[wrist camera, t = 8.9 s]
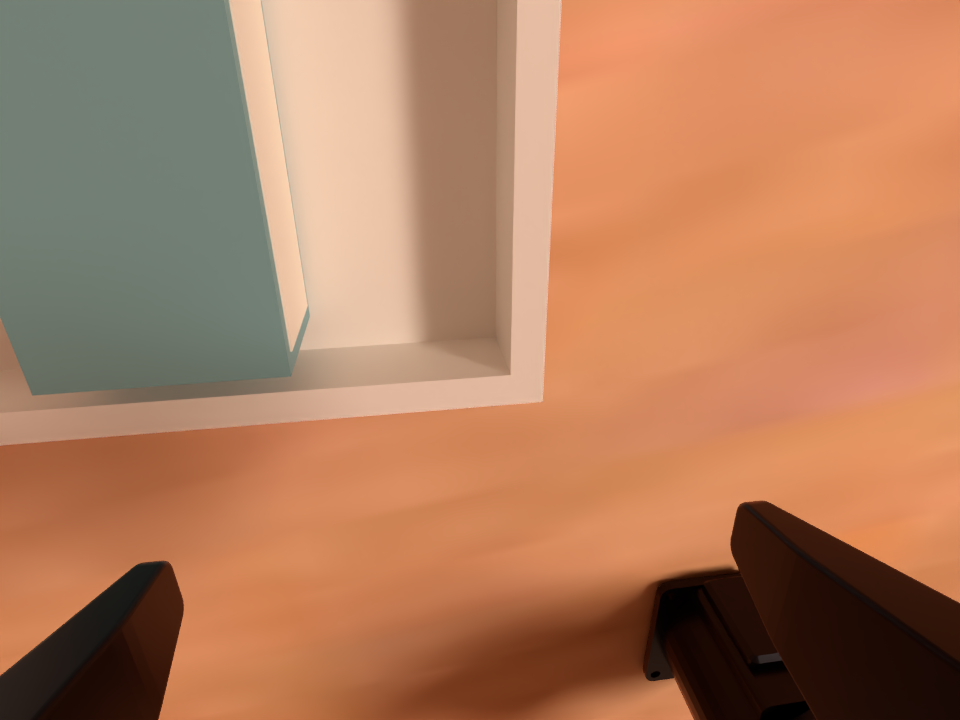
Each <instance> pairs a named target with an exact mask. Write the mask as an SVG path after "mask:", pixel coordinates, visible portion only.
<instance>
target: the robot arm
mask: <svg viewBox="0 0 960 720" xmlns="http://www.w3.org/2000/svg"><path fill="white" fill-rule="evenodd" d="M731 551H732V555H733V557H734V560H735V562H736V564H737V566H738V568H739V571H740V573H737V574H728V575H720V576H712V577H704V578H696V579H688V580H679V581H671V582H666V583H663V584H662V585H660V586H659V587H658V589H657V593H656V598H655V604H654V610H653V615H652V621H651V626H650V632H649V637H648V643H647V649H646V654H645V660H644V665H643V672H644V674H645V676H646V678H647V679H648V680H650V681H657V680H663V679H670V678H675V680H676V682H677V684H678V687H679V689H680V691H681V693H682V695H683V697H684V699H685V701H686V704H687V706H688V708H689V710H690V712H691V714H692V716H693V718H694V720H960V603H959V602H957V601H955V600H953V599H951V598H949V597H947V596H945V595H943V594H942V593H940V592H938V591H936V590H934V589H932V588H930V587H928V586H926V585H925V584H923V583H921V582H919V581H917V580H915V579H913V578H911V577H909V576H907V575H906V574H904V573H902V572H900V571H898V570H896V569H894V568H892V567H890V566H888V565H887V564H885V563H883V562H881V561H879V560H877V559H875V558H873V557H871V556H870V555H868V554H866V553H864V552H862V551H860V550H858V549H856V548H854V547H852V546H851V545H849V544H847V543H845V542H843V541H841V540H839V539H837V538H835V537H834V536H832V535H830V534H828V533H826V532H824V531H822V530H820V529H818V528H816V527H815V526H813V525H811V524H809V523H807V522H805V521H803V520H801V519H799V518H798V517H796V516H794V515H792V514H790V513H788V512H786V511H784V510H782V509H780V508H779V507H777V506H775V505H773V504H771V503H769V502H767V501H753V502H744V503H742V504H740V505H739V507H738V509H737V512H736V517H735V522H734V526H733V531H732V536H731ZM183 611H184V604H183V598H182V595H181V592H180V589H179V586H178V583H177V580H176V577H175V574H174V571H173V568H172V566H171V564H170V563H169V562H167V561H155V562H145V563H140V564H138V565H136V566H135V567H133V568H132V569H131V570H129V571H128V572H127V573H126V574H124V575H123V576H122V577H121V578H120V579H118V580H117V581H116V582H115V583H113V584H112V585H111V586H110V587H109V588H107V589H106V590H105V591H104V592H102V593H101V594H100V595H99V596H98V597H96V598H95V599H94V600H93V601H91V602H90V603H89V604H88V605H87V606H85V607H84V608H83V609H82V610H80V611H79V612H78V613H77V614H75V615H74V616H73V617H72V618H71V619H69V620H68V621H67V622H66V623H64V624H63V625H62V626H61V627H60V628H58V629H57V630H56V631H55V632H53V633H52V634H51V635H50V636H49V637H47V638H46V639H45V640H44V641H42V642H41V643H40V644H39V645H38V646H36V647H35V648H34V649H33V650H31V651H30V652H29V653H28V654H26V655H25V656H24V657H23V658H22V659H20V660H19V661H18V662H17V663H15V664H14V665H13V666H12V667H11V668H9V669H8V670H7V671H6V672H4V673H3V674H2V675H1V676H0V720H158V719H159V715H160V711H161V707H162V703H163V699H164V695H165V691H166V686H167V682H168V678H169V674H170V669H171V665H172V661H173V656H174V652H175V648H176V644H177V639H178V635H179V631H180V627H181V622H182V618H183Z"/></svg>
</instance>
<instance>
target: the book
mask: <svg viewBox="0 0 960 720" xmlns="http://www.w3.org/2000/svg"><path fill="white" fill-rule="evenodd" d="M0 318H1V321H2V323H3V326H4V328H5V331H6V333H7V335H8V338H9V340H10V343H11V345H12V348H13V350H14V352H15V355H16V357H17V360H18V362H19V364H20V367H21V369H22V372H23V374H24V377H25V379H26V381H27V384H28V386H29V389H30V391H31V394H32V396H34V395H48V394H61V393H75V392H88V391H102V390H115V389H129V388H142V387H156V386H170V385H183V384H197V383H210V382H224V381H237V380H251V379H264V378H278V377H291V375H292V372H293V369H294V366H295V362H296V359H297V356H298V353H299V350H300V347H301V343H302V340H303V337H304V334H305V331H306V327H307V324H308V321H309V318H310V313H309V307H308V300H307V294H306V287H305V281H304V274H303V268H302V261H301V255H300V248H299V242H298V235H297V229H296V222H295V216H294V209H293V203H292V196H291V190H290V183H289V176H288V170H287V163H286V157H285V150H284V144H283V137H282V131H281V124H280V118H279V111H278V105H277V98H276V92H275V85H274V79H273V72H272V66H271V59H270V53H269V46H268V40H267V33H266V27H265V20H264V14H263V7H262V1H261V0H0Z"/></svg>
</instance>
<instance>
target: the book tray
mask: <svg viewBox="0 0 960 720" xmlns="http://www.w3.org/2000/svg"><path fill="white" fill-rule="evenodd" d="M261 1H262V7H263V14H264V20H265V27H266V33H267V40H268V46H269V53H270V59H271V66H272V72H273V79H274V85H275V92H276V98H277V105H278V111H279V118H280V124H281V131H282V137H283V144H284V150H285V157H286V163H287V170H288V176H289V183H290V190H291V196H292V203H293V209H294V216H295V222H296V229H297V235H298V242H299V248H300V255H301V261H302V268H303V274H304V281H305V287H306V294H307V300H308V307H309V313H310V318H309V321H308V324H307V327H306V331H305V334H304V337H303V340H302V343H301V347H300V350H299V353H298V356H297V359H296V362H295V366H294V369H293V372H292V375H291V377H278V378H264V379H251V380H237V381H224V382H210V383H197V384H183V385H170V386H156V387H142V388H129V389H115V390H102V391H88V392H75V393H61V394H48V395H34V396H32V394H31V391H30V389H29V386H28V384H27V381H26V379H25V377H24V374H23V372H22V369H21V367H20V364H19V362H18V360H17V357H16V355H15V352H14V350H13V348H12V345H11V343H10V340H9V338H8V335H7V333H6V331H5V328H4V326H3V323H2V321H1V318H0V446H1V445H14V444H26V443H39V442H51V441H63V440H76V439H88V438H101V437H113V436H126V435H138V434H150V433H163V432H175V431H188V430H200V429H213V428H225V427H237V426H250V425H262V424H275V423H287V422H300V421H312V420H324V419H337V418H349V417H362V416H374V415H386V414H399V413H411V412H424V411H436V410H449V409H461V408H473V407H486V406H498V405H511V404H523V403H536V402H543V386H544V364H545V343H546V322H547V301H548V279H549V258H550V237H551V215H552V194H553V173H554V152H555V130H556V109H557V88H558V67H559V45H560V24H561V3H562V0H261Z"/></svg>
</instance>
